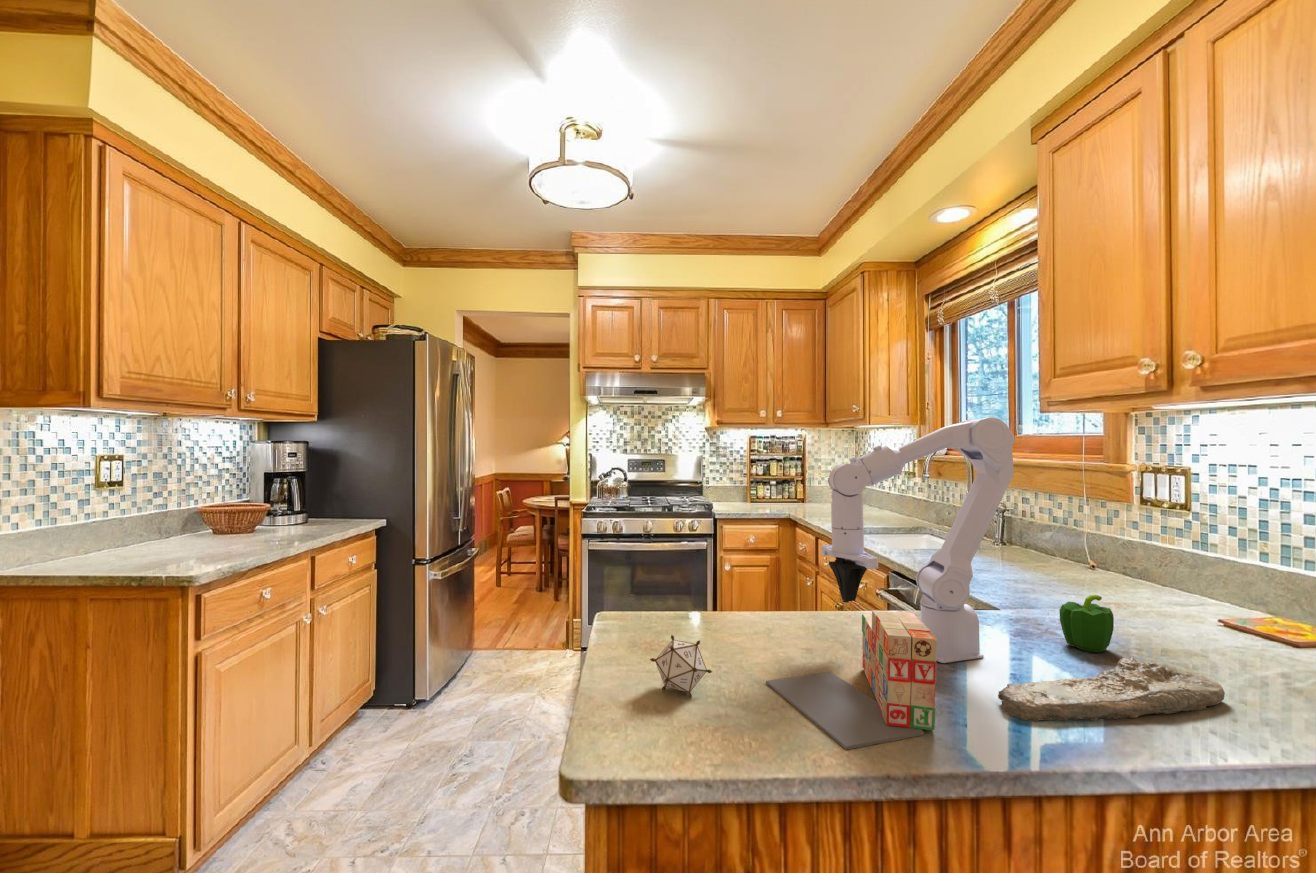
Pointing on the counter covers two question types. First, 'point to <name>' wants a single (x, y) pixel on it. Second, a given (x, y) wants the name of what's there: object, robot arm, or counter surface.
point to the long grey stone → (1112, 694)
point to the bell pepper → (1087, 624)
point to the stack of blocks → (900, 667)
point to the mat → (840, 710)
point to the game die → (681, 665)
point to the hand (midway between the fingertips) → (848, 600)
